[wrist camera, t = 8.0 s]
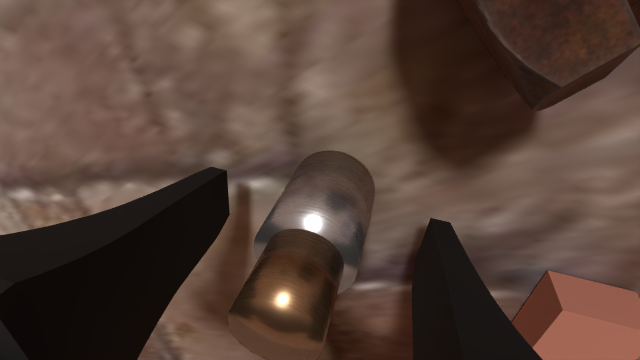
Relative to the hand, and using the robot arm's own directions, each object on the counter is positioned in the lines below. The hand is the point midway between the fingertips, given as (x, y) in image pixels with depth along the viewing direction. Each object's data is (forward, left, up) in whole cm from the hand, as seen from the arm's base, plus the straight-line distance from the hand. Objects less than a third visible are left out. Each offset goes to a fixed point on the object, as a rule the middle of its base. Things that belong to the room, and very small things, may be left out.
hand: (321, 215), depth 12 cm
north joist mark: (-10, +4, -2) cm, 11 cm away
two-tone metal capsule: (0, 0, -2) cm, 2 cm away
